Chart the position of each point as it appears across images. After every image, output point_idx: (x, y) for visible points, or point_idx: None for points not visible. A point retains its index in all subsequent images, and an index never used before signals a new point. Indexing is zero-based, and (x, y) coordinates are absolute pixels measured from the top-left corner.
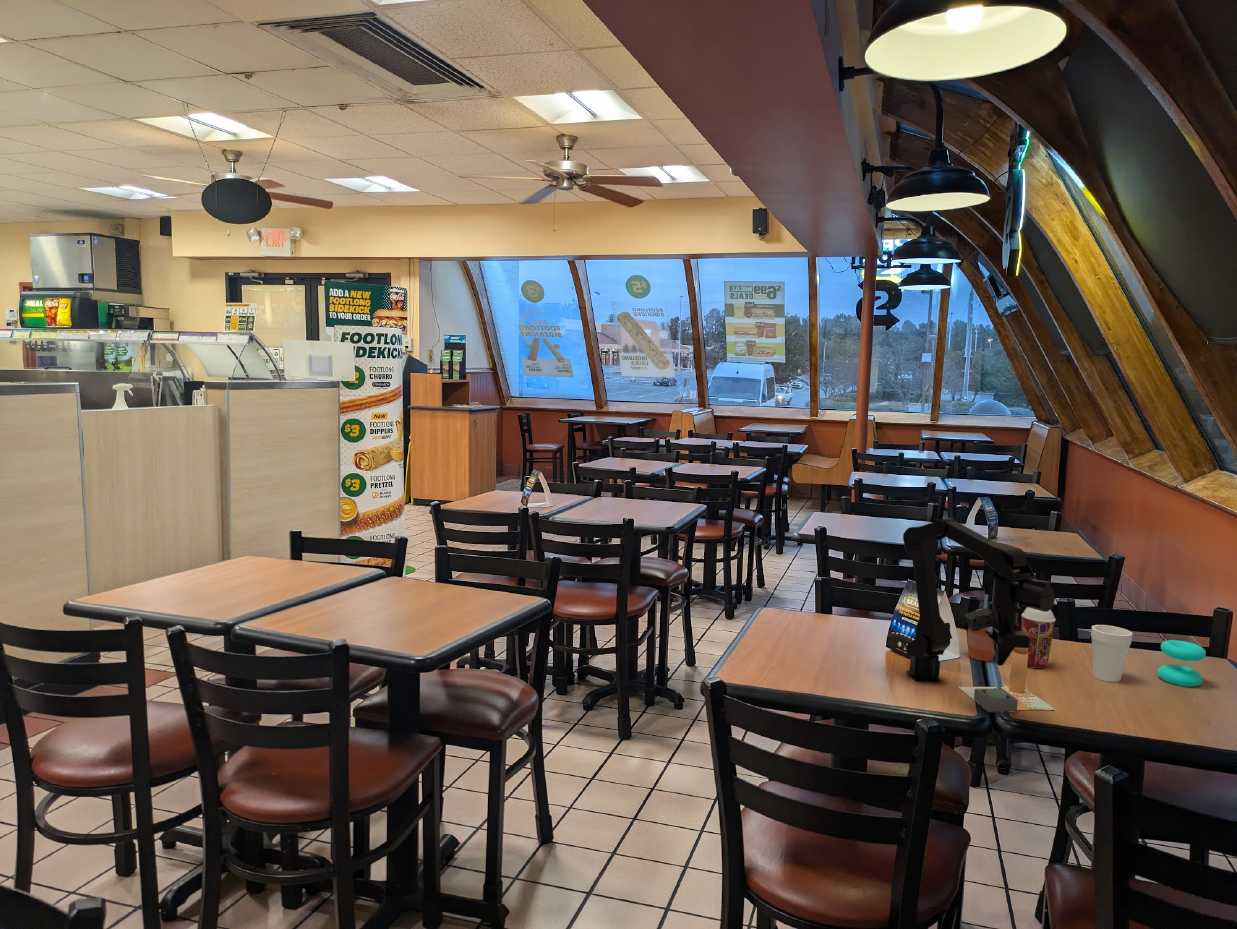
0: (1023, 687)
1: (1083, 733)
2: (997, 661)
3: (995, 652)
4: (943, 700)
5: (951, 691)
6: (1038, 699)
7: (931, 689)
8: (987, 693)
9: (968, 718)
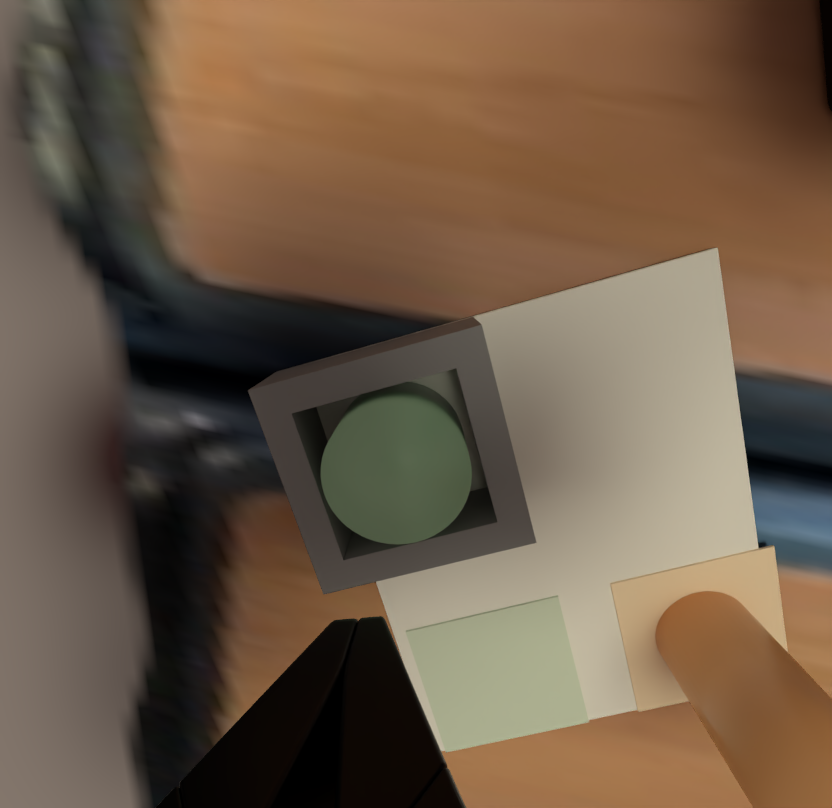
0: (680, 686)
1: (153, 785)
2: (324, 646)
3: (359, 739)
4: (408, 71)
5: (626, 179)
6: (568, 712)
7: (640, 4)
8: (374, 403)
9: (103, 205)
